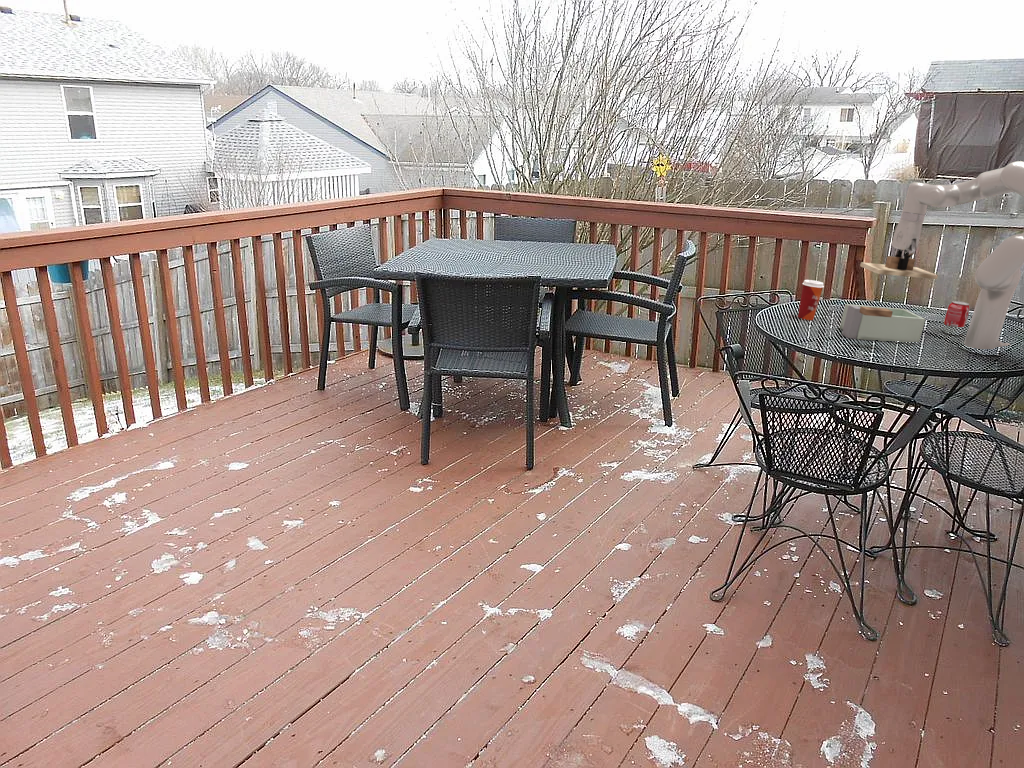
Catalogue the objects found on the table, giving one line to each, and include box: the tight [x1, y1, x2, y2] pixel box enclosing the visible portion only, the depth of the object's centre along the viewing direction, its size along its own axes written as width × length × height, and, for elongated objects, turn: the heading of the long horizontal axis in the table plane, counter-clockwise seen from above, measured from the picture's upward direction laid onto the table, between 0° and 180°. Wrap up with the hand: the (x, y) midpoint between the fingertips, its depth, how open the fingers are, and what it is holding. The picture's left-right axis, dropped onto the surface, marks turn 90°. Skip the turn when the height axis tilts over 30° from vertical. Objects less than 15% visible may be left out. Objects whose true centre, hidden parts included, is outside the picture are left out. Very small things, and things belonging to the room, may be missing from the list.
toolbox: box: [839, 303, 926, 343], centre depth 271 cm, size 25×14×10 cm, turn 92°
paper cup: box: [797, 279, 825, 321], centre depth 287 cm, size 8×8×14 cm
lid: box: [859, 255, 939, 280], centre depth 282 cm, size 22×14×6 cm, turn 92°
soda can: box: [943, 300, 971, 328], centre depth 285 cm, size 7×7×12 cm
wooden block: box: [859, 306, 893, 317], centre depth 255 cm, size 9×4×2 cm, turn 92°
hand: (899, 268), depth 283 cm, fingers closed on lid, 3 cm apart
